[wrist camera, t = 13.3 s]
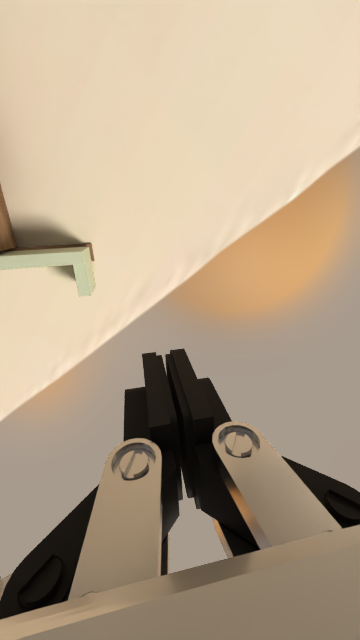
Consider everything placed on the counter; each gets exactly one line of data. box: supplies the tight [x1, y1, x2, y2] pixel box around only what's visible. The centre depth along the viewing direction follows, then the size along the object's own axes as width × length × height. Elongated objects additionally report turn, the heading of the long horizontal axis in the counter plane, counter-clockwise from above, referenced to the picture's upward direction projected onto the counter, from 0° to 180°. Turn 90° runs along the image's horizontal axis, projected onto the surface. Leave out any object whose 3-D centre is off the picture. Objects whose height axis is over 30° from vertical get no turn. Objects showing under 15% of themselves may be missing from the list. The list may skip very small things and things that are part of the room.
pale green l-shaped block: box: [0, 247, 96, 296], centre depth 22 cm, size 8×4×4 cm, turn 92°
